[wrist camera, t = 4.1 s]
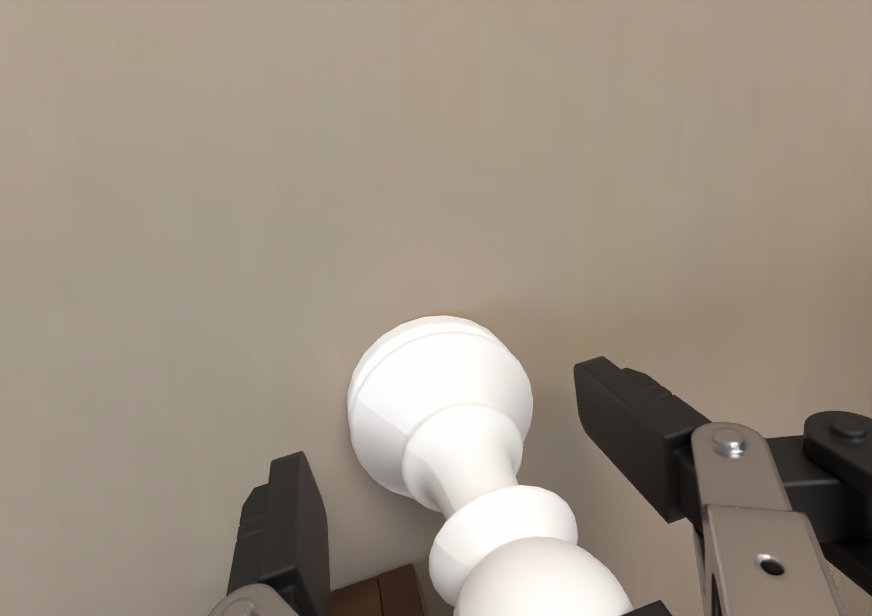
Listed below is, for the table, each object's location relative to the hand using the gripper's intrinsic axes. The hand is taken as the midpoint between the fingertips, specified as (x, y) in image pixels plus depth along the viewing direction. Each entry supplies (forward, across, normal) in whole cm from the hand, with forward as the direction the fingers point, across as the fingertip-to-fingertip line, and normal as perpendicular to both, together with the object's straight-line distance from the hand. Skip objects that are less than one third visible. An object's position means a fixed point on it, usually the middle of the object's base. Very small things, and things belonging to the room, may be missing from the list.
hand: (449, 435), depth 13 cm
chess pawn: (+2, 0, 0) cm, 2 cm away
